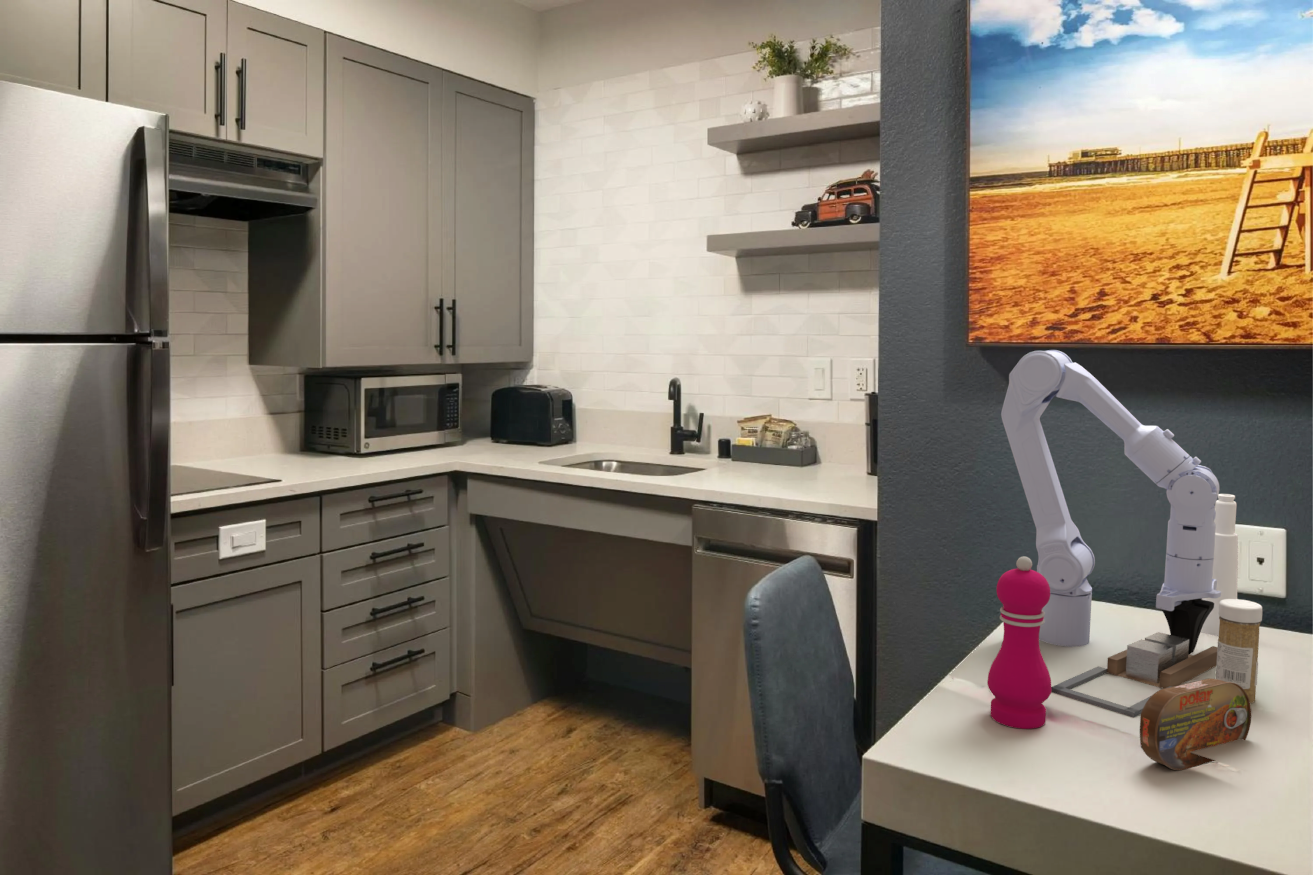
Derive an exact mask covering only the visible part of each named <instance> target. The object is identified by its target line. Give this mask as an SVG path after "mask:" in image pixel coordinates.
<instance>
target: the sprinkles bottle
mask: <svg viewBox="0 0 1313 875" xmlns="http://www.w3.org/2000/svg"><path fill="white" fill-rule="evenodd" d="M1218 614H1219V619H1220V625H1219V637H1218V639H1217V647H1218V648H1217V664H1216V666H1215V679H1218V680H1222V681H1225V682H1232V683H1235V684H1238V685H1239V686H1241V687H1242V688H1243V689H1244V690H1245V692H1246V693H1247V695H1248V698H1249V700H1250V704H1253V703H1254V702H1255V701H1256V695H1257V692H1256V690H1257V686H1258V673H1259V672H1258V671H1259V670H1258V669H1259V661H1258V659H1259V658H1258V657H1259V642H1260V625H1261V622H1262V621H1263V606H1262V605H1261V604H1260V603H1257V602H1255V601H1251V600H1246V599H1239V598H1237V599H1224V600H1221V601H1220V603H1219V613H1218Z"/></svg>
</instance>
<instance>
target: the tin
mask: <svg viewBox="0 0 1313 875" xmlns="http://www.w3.org/2000/svg"><path fill="white" fill-rule="evenodd" d="M1150 696H1151V697H1150ZM1150 696H1149V697H1150V698H1149V699H1148V701H1147V702H1146V704H1145V706H1144V707H1143V710H1142V712H1141V714H1140V718H1139V719H1140V720H1139V721H1140V722H1139V738H1140V739H1139V740H1140V747H1141V749H1142V750H1143V752H1144V754H1145V755H1146V756H1147V757H1148V758H1149V759H1150V760H1151V761H1154V762H1156V763H1157V764H1161V765H1163V766H1166V767H1167V768H1168V769H1171V770H1174V771H1184V770H1188V769H1191V768H1195V767H1198V766H1201V765H1205V764H1209V763H1213V762H1215V761H1217V760H1215V759H1213V758H1209V757H1206V756H1203V755H1200V754H1197V753H1194V752H1197V751H1199V750H1200V751H1201V750H1204V749H1208V748H1212V747H1216V746H1219V745H1224V744H1227V743H1232V742H1235V741H1240V740H1241V741H1246V740H1247V737H1248V735H1249V732H1250V727H1251V723H1252V707H1251V703H1250V700H1249V698H1248V695H1247V693H1246V692H1245V690H1244V689H1243V688H1242V687H1241V686H1239V685H1238V684H1235V683H1232V682H1225V681H1222V680H1218V679H1216V678H1205V679H1201V680H1196V681H1193V682H1188V683H1183V684H1181V685H1179V686H1174V687H1170V688H1165V689H1164V688H1161V689H1160V690H1157V691H1155V693H1153V694H1152V695H1150Z"/></svg>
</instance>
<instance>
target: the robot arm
mask: <svg viewBox="0 0 1313 875" xmlns="http://www.w3.org/2000/svg"><path fill="white" fill-rule="evenodd" d="M1054 398H1058V399H1059V398H1060V399H1064V400H1068V401H1074V402H1077V403H1080V404H1082V406H1084V408H1086V409H1087V410H1088V411H1090V413H1091V414H1093V415H1094V416H1095V417H1096V418H1098V420H1100V421H1101V422H1102V423H1103V424H1104V425H1105V426H1106V427H1107V428H1108V429H1110V430H1111V431H1112V432H1113V433H1115V434H1116V436H1118V437H1119V438H1120V439H1122V440H1123V443H1124V449H1123V450H1124V451H1123V452H1124V453H1123V454H1124V455H1125V456H1126V457H1127V458H1128V459H1129V460H1130V461H1131V462H1132V463H1133V464H1134V465H1135V466H1136V467H1138V469H1139V470H1140V471H1141V472H1142V473H1143V474H1145V476H1146V477H1148V478H1149V479H1150V480H1151V481H1152V482H1153V483H1154V484H1156V485H1157V487H1158V488H1163V489H1165V490H1166V497H1167V498H1166V499H1167V500H1168V502H1169V504H1170V511H1169V512H1170V513H1169V519H1168V521H1167V534H1166V536H1167V537H1166V551H1165V552H1166V553H1165V564H1164V567H1165V568H1164V581H1163V583H1162V585H1161V589H1160V591H1159V592H1158V593H1157V594H1156V600H1155V601H1156V602H1155V609H1158V610H1161V611H1162V613H1163V615H1164V616H1165V617H1164V618H1165V619H1166V622H1167V625H1168V630H1169V635H1173V636H1177V637H1181V638H1186V639H1189V650H1188V654H1189V655H1192V654H1193V653H1194V652H1195V649H1196V646H1197V643H1198V641H1199V637H1200V634H1201V629H1202V627H1203V624H1204V622H1205V620H1206V619H1207V617H1208V615H1209V614H1210V612H1211V611H1212V610H1213V608H1214V603H1213V602H1211V601H1206V600H1202V598H1219V597H1221V592H1220V591H1217V590H1216V588H1217V580H1216V579H1212V577H1213V562H1214V548H1215V532H1216V524H1215V522H1214V520H1215V518H1216V511H1215V503H1216V501H1217V500H1218V494H1220V482H1219V480H1218V478H1217V476H1216V475H1215V474H1214V473H1213V471H1212V469H1211V468H1209V467H1208V466H1204V465H1201V463H1202V460H1201V459H1199V458H1198V456H1194V457H1193V456H1190V454H1189V453H1187V452H1186V450H1184V449H1183V448H1182V447H1181V446H1180V445H1179V444H1178V443H1177V442H1176V441H1175V440H1173V439H1172V438H1174V437H1175V434H1174V433H1173V432H1172V431H1171V430H1170V429H1169V428H1167V429H1165V430H1163V429H1162V428H1160V427H1159V425H1144V424H1142V423H1141V422H1140V421H1139V420H1138V419H1137V418H1136V417H1135V416H1134V415H1133V414H1132V413H1131V412H1130V411H1129V410H1128V409H1127V408H1126V407H1125V406H1124V405H1123V404H1122V403H1121V402H1120V401H1119V400H1118V399H1117V398H1116V397H1115V396H1114V395H1113V394H1112V393H1111V392H1110V391H1109V390H1108V389H1107V388H1106V387H1105V386H1104V385H1103V384H1102V383H1101V382H1100V381H1099V380H1098V379H1097V378H1096V377H1094V375H1093V374H1091V373H1090V371H1088V370H1087V369H1085V368H1084V367H1083V366H1082V365H1080V364H1079V363H1077V362H1073V361H1072V359H1071V357H1070V356H1068V355H1067V354H1066V353H1065V352H1063V351H1060V350H1057V349H1049V350H1034V351H1030V352H1028V353H1027V354H1024V355H1023V356H1022V357H1021V358H1020V359H1019V361H1018V362H1017V364H1016V365H1015V366H1014V367H1013V369H1012V370H1011V371H1010V372H1009V374H1008V386H1007V390H1006V393H1005V397H1004V401H1003V404H1002V408H1001V413H1000V416H1001V421H1002V424H1003V426H1004V430H1005V433H1006V436H1007V439H1008V444H1009V446H1010V449H1011V453H1012V456H1013V459H1014V462H1015V465H1016V468H1017V472H1018V475H1019V479H1020V482H1021V484H1022V485H1021V486H1022V488H1023V490H1024V494H1025V497H1026V498H1025V499H1026V500H1027V503H1028V508H1029V511H1030V513H1031V516H1032V520H1033V523H1034V525H1035V529H1036V534H1035V535H1036V537H1035V547H1036V551H1037V555H1038V562H1037V565H1036V572H1038V573H1040V574H1041V575H1043V576H1044V577H1045V578H1046V580H1047V582H1048V584H1049V587H1050V599H1049V601H1048V603H1047V604H1046V605H1045V606H1044V607H1043V608H1042V610H1043V611H1044V612H1045V616H1044V621H1045V622H1044V624H1043V625H1041V626H1040V631H1039V641H1042V642H1044V643H1047V644H1050V645H1055V646H1061V647H1082V646H1083V647H1085V646H1087V645H1088V644H1090V636H1091V616H1092V598H1093V596H1092V595H1093V593H1092V592H1093V587H1092V586H1091V584H1090V583H1089V581H1088V578H1087V577H1089V576H1090V575H1091V574H1092V572H1093V570H1094V568H1095V564H1096V559H1095V554H1094V553H1093V550H1092V549H1091V547H1090V546H1088V545H1087V544H1086V542H1085V541H1084V540H1083V538H1082V536H1081V535H1082V534H1081V533H1080V530H1079V528H1078V526H1076V524H1075V523H1074V522H1073V520H1072V517H1071V514H1070V511H1069V508H1068V505H1067V501H1066V499H1065V498H1066V497H1065V495H1064V491H1063V488H1062V486H1061V483H1060V479H1059V475H1058V474H1057V469H1056V467H1055V463H1054V461H1053V457H1052V454H1051V451H1050V448H1049V445H1048V442H1047V437H1046V435H1045V432H1044V429H1043V425H1042V423H1041V419H1040V418H1041V416H1042V414H1044V412H1045V410H1046V409H1047V407H1048V406H1049V404H1050V403H1051V401H1052V399H1054Z"/></svg>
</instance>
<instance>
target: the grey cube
mask: <svg viewBox="0 0 1313 875" xmlns="http://www.w3.org/2000/svg"><path fill="white" fill-rule="evenodd" d="M1144 640H1146V641H1150V642H1154V643H1158V644H1162V645H1167V646H1171V647H1173V649H1172V666H1173V665H1175V664H1177V663H1179V662H1181V661H1183V660H1186V659H1188V650H1189V639H1186V638H1181V637H1177V636H1173V635H1171V634H1170V633H1169V634H1168V633H1163V632H1159V631H1157V632H1156V633H1154V634H1151V635H1148V636H1146V637H1144Z"/></svg>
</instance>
